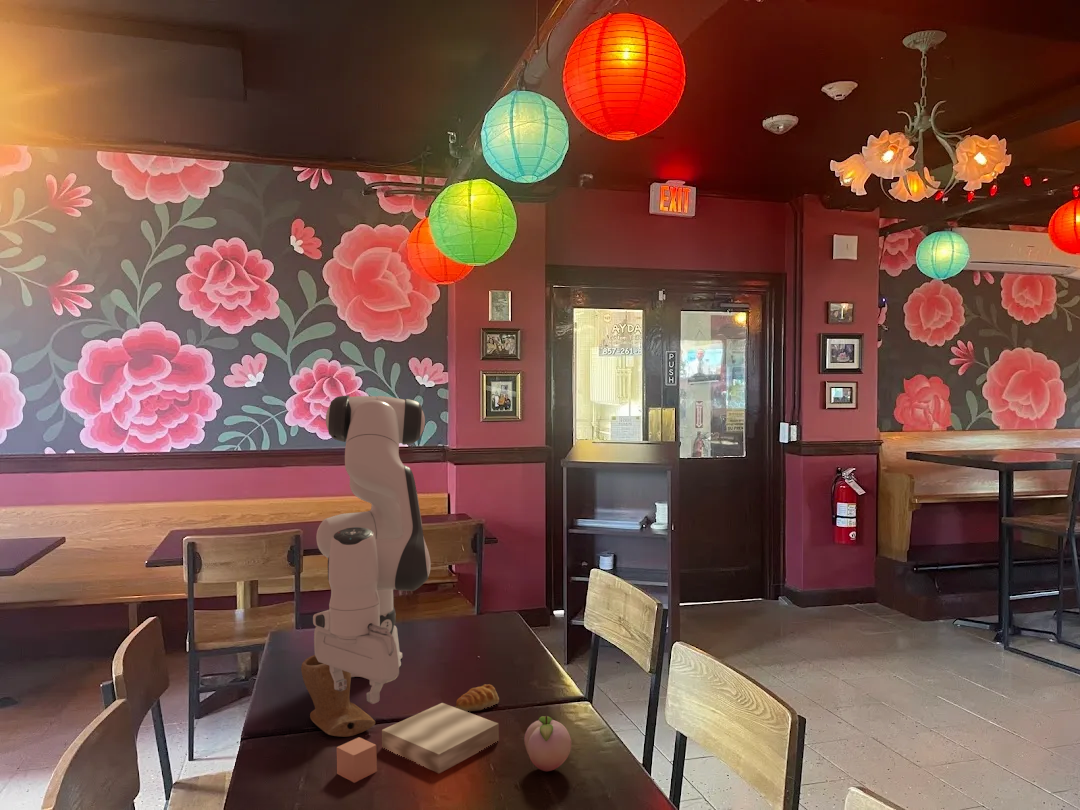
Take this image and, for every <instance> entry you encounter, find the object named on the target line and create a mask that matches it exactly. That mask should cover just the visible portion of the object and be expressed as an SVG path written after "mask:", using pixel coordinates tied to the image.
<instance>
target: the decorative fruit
mask: <svg viewBox="0 0 1080 810" xmlns="http://www.w3.org/2000/svg"><path fill="white" fill-rule="evenodd" d="M523 742H524V746H525V749H526V752H527V755H528V757H529V759H530V761H531V763H532V764H533V766H535V767H536V768H537V769H538V770H541V771H542V772H552V771H554V770H556V769H558V768H559V767H561V766H562V765H563V764H564V763H565V762H566V760H567V759H568V757H569V755H570V752H571V750H572V739H571V736H570V733H569V731H568V729H567V728H566V727H565V726H564V724H562V723H561V722H559V721H557V720H554V719H553V718H552V717H550V716H548V715H545V716H540V717H539V718H538V720H535V721H534V722H532V723H531V724H530V725H529V726H528V727H527V729H526V731H525V733H524V741H523Z"/></svg>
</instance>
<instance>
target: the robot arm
mask: <svg viewBox="0 0 1080 810" xmlns="http://www.w3.org/2000/svg"><path fill="white" fill-rule="evenodd" d="M325 425H326V429H327V431H328V435H329V436H330V437H331V438H332V439H333V440H336V441H338V442H342V443H345V447H344V448H345V449H344V467H345V471H346V473H347V475H348V476H349V489H350V491H351V493H352V495H354V496H355V497H356V498H358V499H360V500H361V501H364V502H366V503H369V504H371V509H370V510H366V511H360V512H348V513H347V512H346V513H340V514H336V515H333V516H330V517H326V518H324V519H322V521H321V522H320V524H319V526H318V528H317V530H316V545H317V548H318V550H319V552H320V553H321V554H322V555H323V556H324V557H326V558H327V579H328V583H329V588H330V589H331V590H330V592H331V594H330V599H329V604H328V606H329V609H327V610H324V611H321V612H317V613H315V614H313V616H312V623H313V625H314V626H315V628H314V632H313V643H314V644H313V648H314V655H315V656H316V658H317V660H318V662H320V663H323V664H326V665H329V667H330V673H331V675H332V678H333V680H334V689H335V690H337V691H343V690H346V688H347V685H346V684H347V680H346V679H344V676H343V672H342V670H343V671H346V672H349V673H351V678H355V677H356V678H357V677H360V678H364V679H367V680H369V686H371V687H370V691H367V692H366V702H368V703H370V704H372V705H375V704H377V703H379V701H380V700H381V698H380V694H381V693H380V692H381V691H382V688H383V687H384V684H387V683H390V682H392V681H395V680H396V679H397V678H398V677H399V675H400V667H401V665H402V662H401V659H403V652H401V651H400V643H399V636H398V628H397V626H396V625H395V624H396V616H397V615H396V609H395V607H394V590H396V591H405V592H406V591H408V592H414V591H416V590H417V589H419V588H420V587H421V586H423V585H424V584H425V583H426V582H427V581H428V580H429V576H430V573H431V565H432V564H431V557H430V552H429V549H428V546H427V543H426V539H425V537H424V530H423V521H422V516H421V514H422V513H421V510H420V509H421V508H420V503H419V495H418V491H417V485H416V480H415V476H414V474H413V471H412V469H411V467H409V466H408V465H405V464H404V463H403V462H402V460H401V458H400V453H399V452H400V444H402V445H403V446H404V445H411V444H414V443H416V442H417V441H419V440H420V439H421V438H420V437H421V436H422V434H423V432H424V430H425V425H426V418H425V413H424V411H423V407H422V405H421V403H419V402H418V401H417V400H415V399H414V400H413V399H410V398H405V399H402V398H399V397H397V398H396V397H394V396H393V397H392V396H387V395H386V396H385V395H384V396H383V395H377V396H372V395H368V396H367V395H362V396H361V395H359V396H357V395H356V396H350V395H340V396H337V397H335V398H334V399H331V402H330V404H329V405H328V408H327V410H326V413H325Z"/></svg>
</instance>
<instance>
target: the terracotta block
mask: <svg viewBox="0 0 1080 810" xmlns="http://www.w3.org/2000/svg"><path fill="white" fill-rule="evenodd" d="M377 755H378V754H377V744H375V743H373V742H371V741H368V740H367V739H364V738H362V737H356V738H354V739H352V740H350V741H347V742H345V743H343V744H341V745H338V746H336V773H337V775H339V776H340V777H342V778H344V779H347V780H348V781H350V782H352V783H354V784H355V783H358V782H359V781H361V780H363V779H364V778H367V777H368V776H371V775H373V774H375V773H377V772H378V768H377V767H378V766H377V765H378V763H377V762H378V761H377Z"/></svg>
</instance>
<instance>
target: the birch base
mask: <svg viewBox="0 0 1080 810" xmlns="http://www.w3.org/2000/svg"><path fill="white" fill-rule="evenodd" d="M499 730H500V729H499V722H496V721H493V720H490V719H487V718H485V717H482V716H480V715H476V714H474V713H471V712H470V711H469V712H466V711H463V710H461V709H458V708H456V706H452V705H449V704H447V703H444V702H441V703H438V704H436V705H434V706H431V707H430V708H427V709H425V710H422V711H421V712H419V713H416V714H414V715H412V716H410V717H407V718H405V719H403V720H401V721H399V722H396V723H394V724H392V725H390V726H387V727H385V728H383V729H382V730H381V742H382V743H381V748H382V747H383V748H382V749H384V748H385V749H384V750H386V749H387V750H386V751H388V750H389V751H388V752H390V751H391V753H392V752H393V753H392V754H395V755H397V754H398V755H397V756H399V755H400V756H399V757H401V756H402V758H403V757H405V758H404V759H406V758H407V759H406V760H408V759H409V760H408V761H410V760H411V762H412V761H414V762H416V763H415V764H417V765H419V764H420V765H419V766H421V767H423V766H424V768H426V769H428V770H429V771H433V772H434V773H436V774H442V773H443V772H444V771H446V770H449V769H450V768H452V767H455V766H456V765H457V764H460V763H461V762H463V761H465V760H467V759H469V758H470V757H473V756H474V755H476V754H478V753H479V751H480V752H482V751H483V750H485V749H487V748H489V747H491V746H493V745H494V744H493V743H495V742H496V743H498V742H499V741H500V737H499V736H500V735H499ZM497 741H498V742H497ZM496 743H495V744H496ZM492 744H493V745H492ZM490 745H491V746H490ZM488 746H489V747H488ZM486 747H487V748H486ZM484 748H485V749H484ZM481 750H482V751H481ZM414 762H413V763H414Z"/></svg>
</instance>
